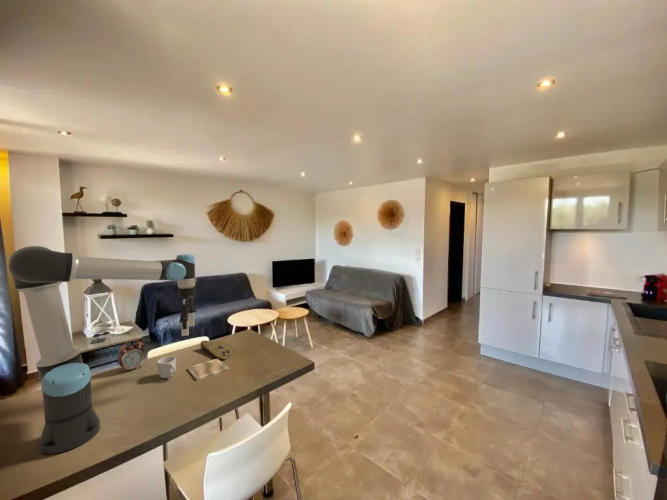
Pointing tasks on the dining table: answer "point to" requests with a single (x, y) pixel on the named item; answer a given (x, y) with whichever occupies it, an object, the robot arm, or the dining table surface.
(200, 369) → the board
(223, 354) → the decorative stone
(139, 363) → the alarm clock
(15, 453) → the dining table surface
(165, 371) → the cup
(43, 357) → the robot arm
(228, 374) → the dining table surface
